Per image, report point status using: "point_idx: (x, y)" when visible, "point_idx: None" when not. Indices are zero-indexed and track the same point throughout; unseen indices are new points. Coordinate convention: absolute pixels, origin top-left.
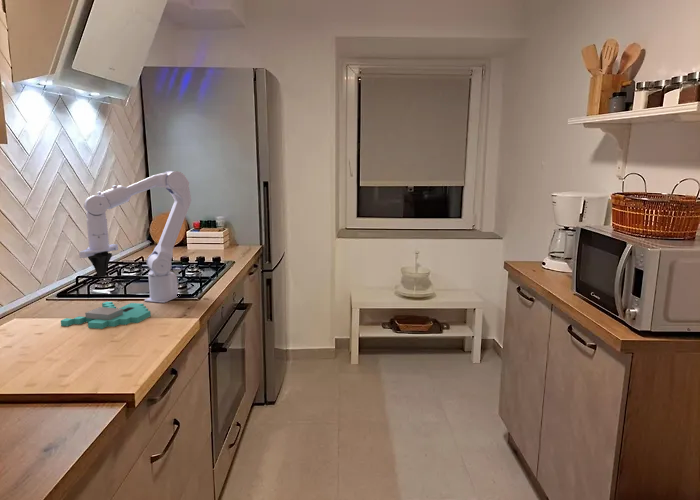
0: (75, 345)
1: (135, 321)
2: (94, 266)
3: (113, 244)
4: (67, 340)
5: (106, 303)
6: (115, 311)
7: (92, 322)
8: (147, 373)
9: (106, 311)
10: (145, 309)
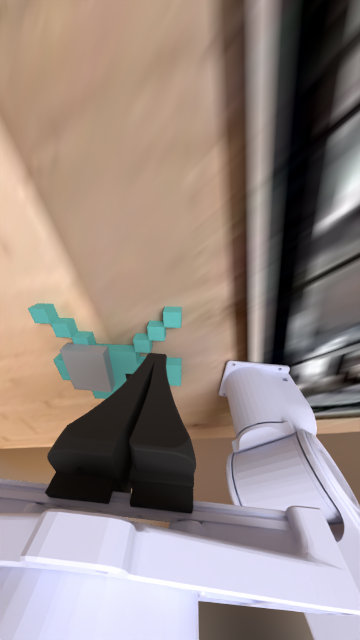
0: (7, 376)
1: None
2: (124, 386)
3: (322, 612)
4: (8, 358)
5: (165, 322)
6: (93, 389)
7: (57, 366)
8: (18, 446)
9: (86, 378)
10: None
